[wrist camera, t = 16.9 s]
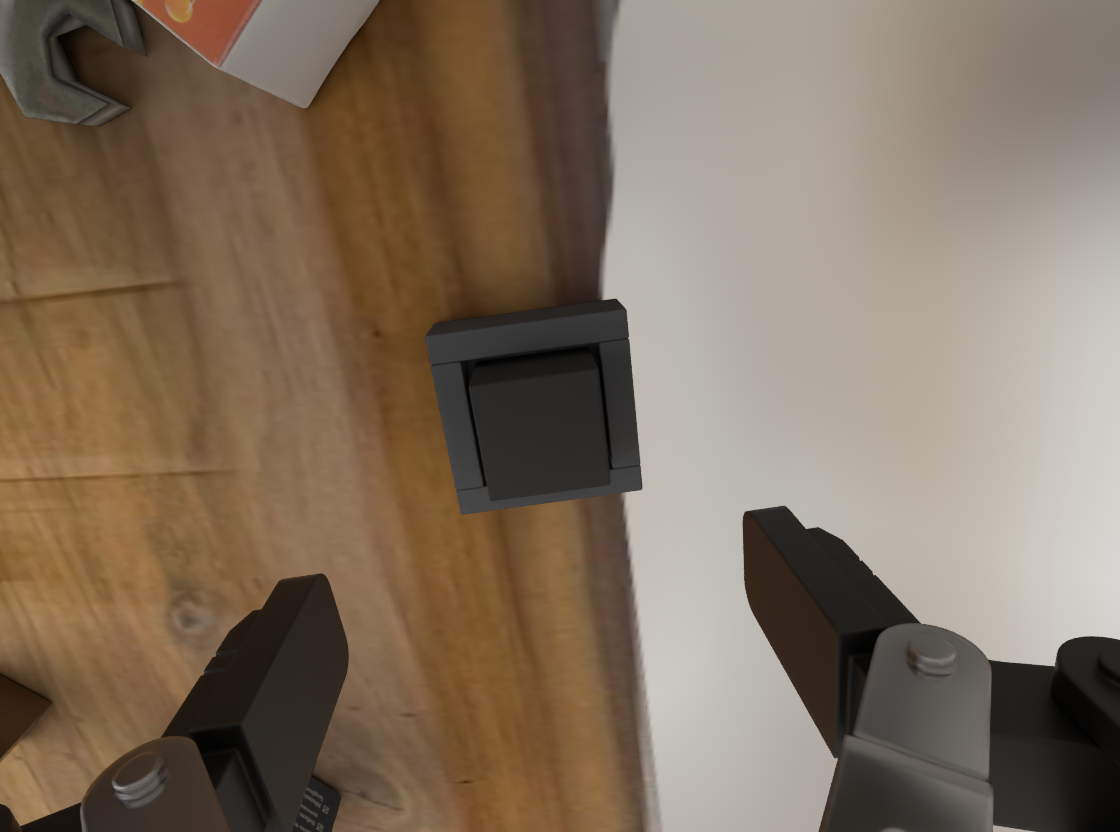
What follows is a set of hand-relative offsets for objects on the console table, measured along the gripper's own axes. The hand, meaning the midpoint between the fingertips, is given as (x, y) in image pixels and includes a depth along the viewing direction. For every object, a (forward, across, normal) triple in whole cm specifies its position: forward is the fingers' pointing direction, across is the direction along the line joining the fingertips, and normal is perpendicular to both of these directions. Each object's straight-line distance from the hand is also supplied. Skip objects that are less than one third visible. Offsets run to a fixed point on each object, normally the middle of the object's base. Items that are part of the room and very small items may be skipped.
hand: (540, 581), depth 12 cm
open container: (+12, 0, 0) cm, 12 cm away
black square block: (+11, 0, 0) cm, 11 cm away
